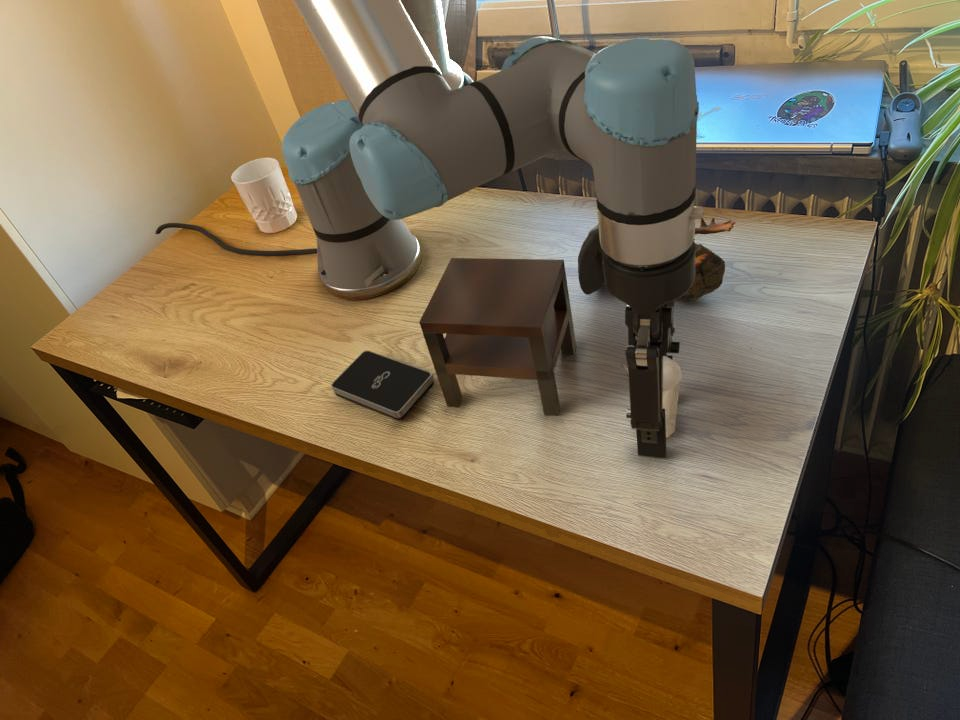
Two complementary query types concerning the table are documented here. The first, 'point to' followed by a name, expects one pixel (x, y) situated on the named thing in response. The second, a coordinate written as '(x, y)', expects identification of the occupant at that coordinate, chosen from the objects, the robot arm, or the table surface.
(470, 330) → the small wooden side table
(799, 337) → the table surface
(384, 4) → the robot arm
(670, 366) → the milkshake
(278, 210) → the white cup
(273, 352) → the table surface
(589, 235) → the figurine
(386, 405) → the external hard drive
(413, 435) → the table surface
